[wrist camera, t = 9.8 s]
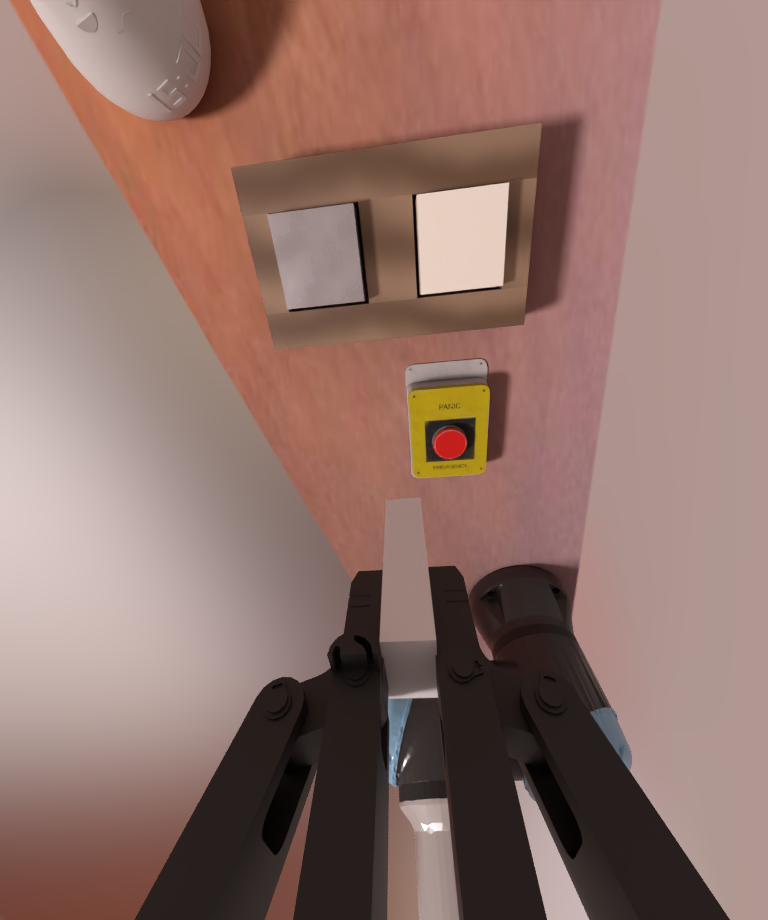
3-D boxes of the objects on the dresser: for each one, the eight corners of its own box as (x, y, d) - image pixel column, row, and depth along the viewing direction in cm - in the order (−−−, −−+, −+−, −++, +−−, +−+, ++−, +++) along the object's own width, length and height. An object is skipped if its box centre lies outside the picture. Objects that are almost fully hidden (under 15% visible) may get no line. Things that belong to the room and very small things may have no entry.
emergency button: (412, 494, 41) (404, 373, 34) (411, 476, 45) (404, 364, 38) (489, 490, 41) (497, 365, 34) (481, 472, 44) (486, 356, 37)
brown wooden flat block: (509, 320, 35) (523, 324, 31) (288, 342, 37) (274, 349, 33) (521, 144, 29) (541, 122, 25) (252, 182, 30) (230, 167, 26)
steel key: (367, 299, 32) (364, 301, 29) (297, 307, 33) (287, 309, 30) (357, 211, 29) (353, 203, 26) (280, 221, 30) (267, 214, 27)
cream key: (492, 285, 32) (503, 285, 29) (418, 293, 32) (421, 294, 29) (497, 193, 28) (509, 182, 25) (414, 203, 29) (416, 194, 26)
